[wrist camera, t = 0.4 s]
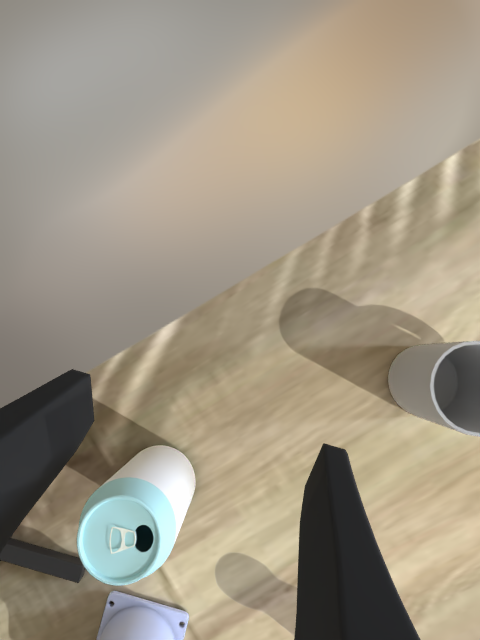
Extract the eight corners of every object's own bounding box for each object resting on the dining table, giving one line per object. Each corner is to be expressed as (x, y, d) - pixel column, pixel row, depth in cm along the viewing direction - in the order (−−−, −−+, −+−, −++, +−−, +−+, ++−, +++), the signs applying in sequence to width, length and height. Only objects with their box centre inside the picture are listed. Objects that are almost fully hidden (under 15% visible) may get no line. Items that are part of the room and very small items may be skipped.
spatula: (92, 541, 36) (88, 546, 35) (77, 595, 35) (72, 602, 34) (-67, 495, 37) (-76, 499, 36) (-84, 548, 36) (-94, 553, 35)
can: (169, 429, 37) (130, 464, 25) (210, 487, 36) (191, 552, 24) (112, 472, 36) (46, 529, 24) (153, 531, 36) (105, 620, 24)
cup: (372, 365, 37) (412, 368, 28) (458, 319, 37) (524, 307, 28) (409, 429, 36) (461, 453, 27) (496, 382, 36) (576, 390, 27)
